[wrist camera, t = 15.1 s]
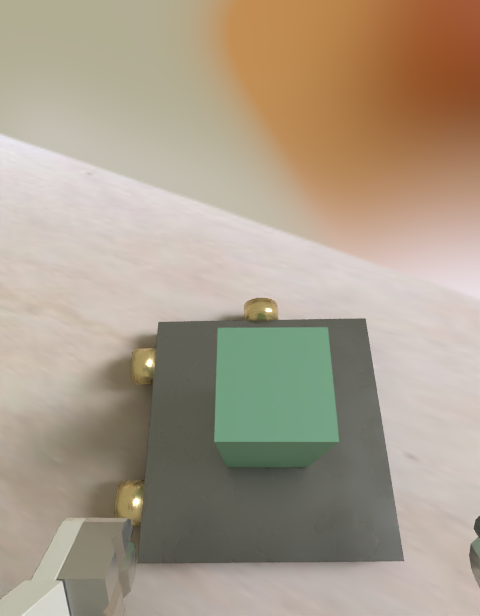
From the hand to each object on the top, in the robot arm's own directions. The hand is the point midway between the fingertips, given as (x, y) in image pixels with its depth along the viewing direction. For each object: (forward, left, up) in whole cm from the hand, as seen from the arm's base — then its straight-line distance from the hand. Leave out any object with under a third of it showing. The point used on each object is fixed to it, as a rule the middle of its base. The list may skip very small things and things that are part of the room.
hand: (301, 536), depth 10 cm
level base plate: (0, -5, -12) cm, 13 cm away
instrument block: (0, -5, -11) cm, 12 cm away
